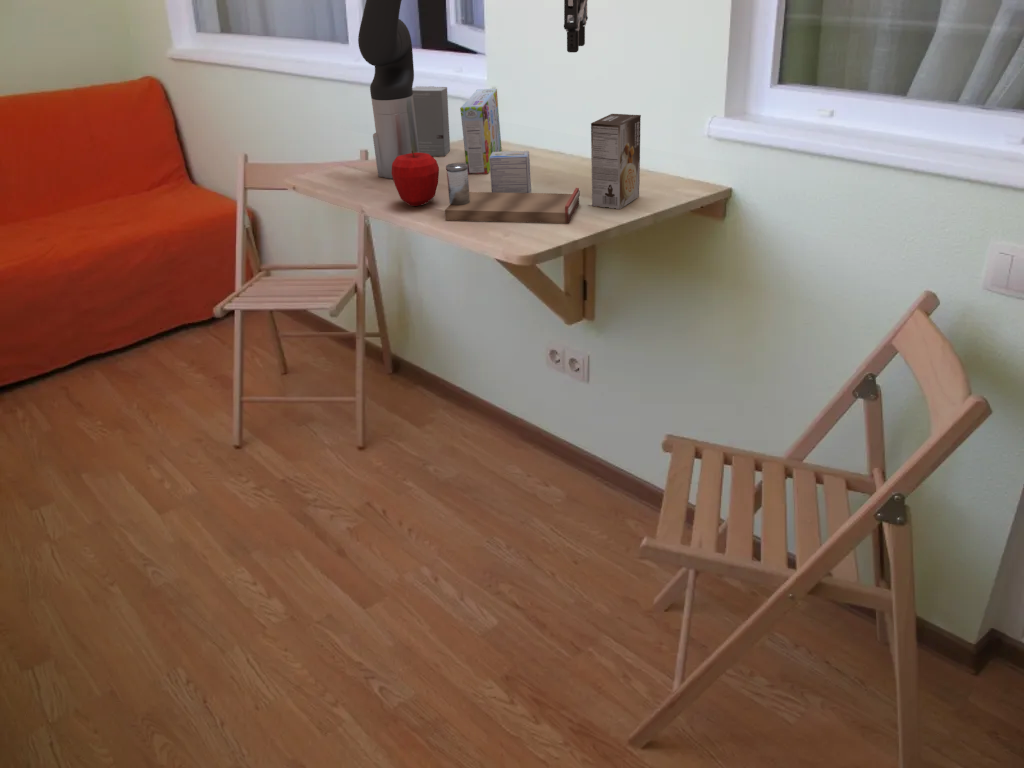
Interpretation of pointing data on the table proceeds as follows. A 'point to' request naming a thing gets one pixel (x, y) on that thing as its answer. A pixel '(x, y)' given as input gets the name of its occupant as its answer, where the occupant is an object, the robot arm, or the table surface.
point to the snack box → (480, 130)
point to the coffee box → (615, 160)
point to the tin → (458, 183)
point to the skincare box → (432, 119)
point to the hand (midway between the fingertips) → (576, 49)
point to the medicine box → (510, 172)
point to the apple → (415, 177)
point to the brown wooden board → (516, 207)
